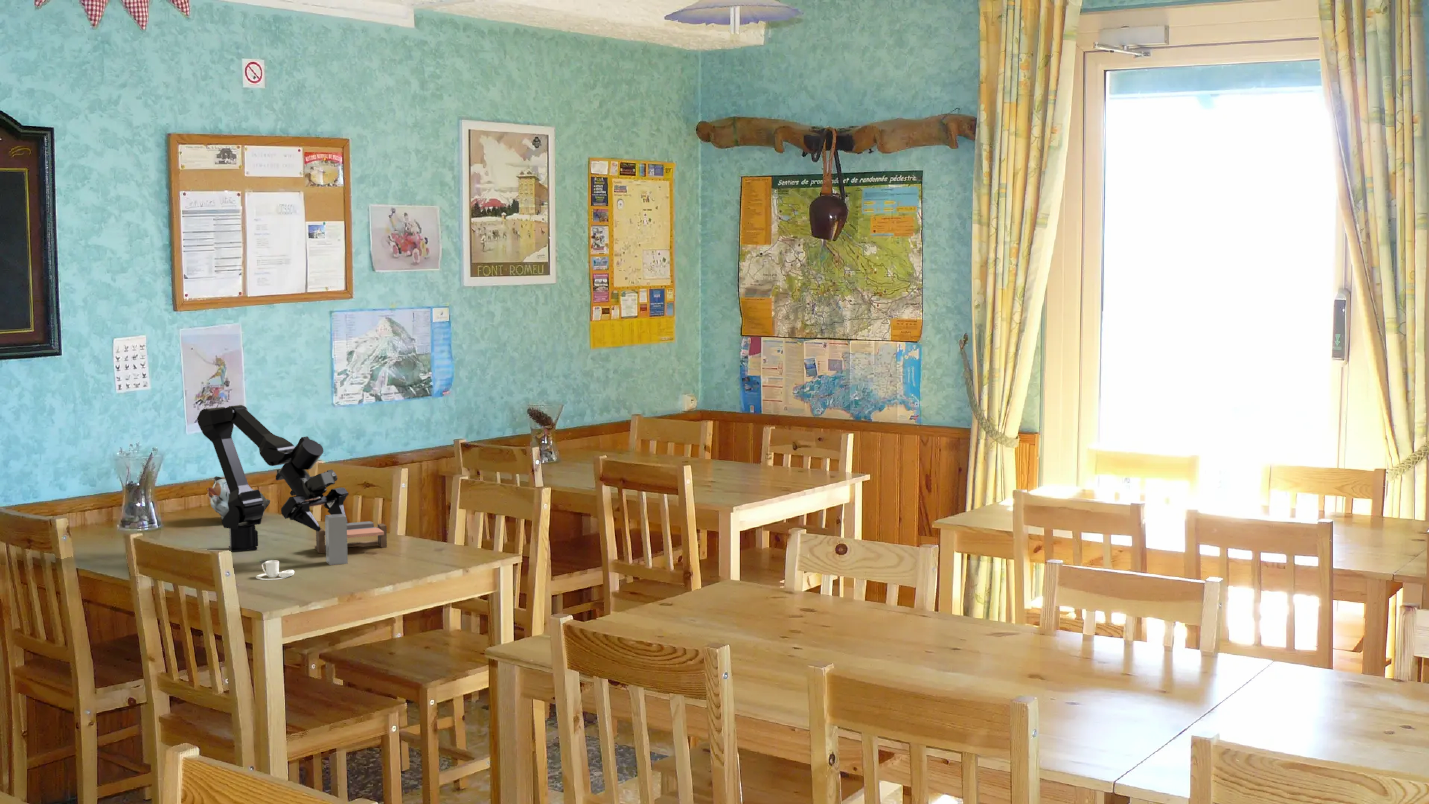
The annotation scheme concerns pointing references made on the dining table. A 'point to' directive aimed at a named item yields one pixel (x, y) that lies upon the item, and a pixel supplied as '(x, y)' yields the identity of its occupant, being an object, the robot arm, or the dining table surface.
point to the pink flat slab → (362, 529)
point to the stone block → (336, 539)
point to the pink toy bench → (381, 542)
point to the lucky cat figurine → (224, 497)
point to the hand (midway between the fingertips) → (333, 527)
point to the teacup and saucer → (274, 571)
